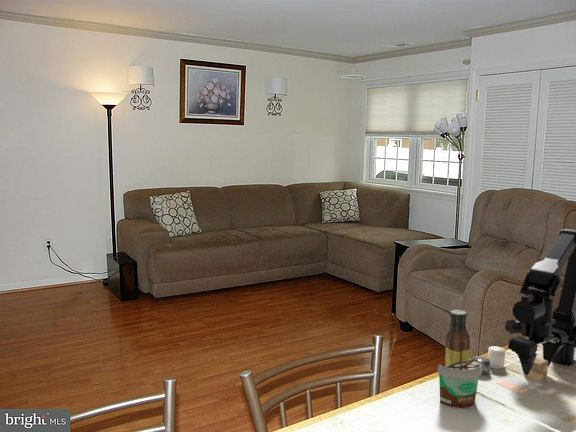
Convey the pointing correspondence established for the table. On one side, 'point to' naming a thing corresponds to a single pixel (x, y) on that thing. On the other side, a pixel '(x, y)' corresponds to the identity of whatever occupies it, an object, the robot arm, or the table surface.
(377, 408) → the table surface
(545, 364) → the oak block
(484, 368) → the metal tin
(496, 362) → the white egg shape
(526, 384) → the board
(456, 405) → the food container
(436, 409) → the table surface
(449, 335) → the sauce bottle
